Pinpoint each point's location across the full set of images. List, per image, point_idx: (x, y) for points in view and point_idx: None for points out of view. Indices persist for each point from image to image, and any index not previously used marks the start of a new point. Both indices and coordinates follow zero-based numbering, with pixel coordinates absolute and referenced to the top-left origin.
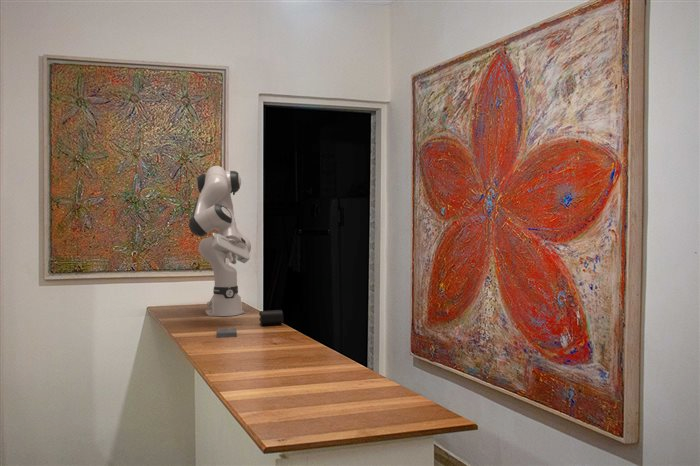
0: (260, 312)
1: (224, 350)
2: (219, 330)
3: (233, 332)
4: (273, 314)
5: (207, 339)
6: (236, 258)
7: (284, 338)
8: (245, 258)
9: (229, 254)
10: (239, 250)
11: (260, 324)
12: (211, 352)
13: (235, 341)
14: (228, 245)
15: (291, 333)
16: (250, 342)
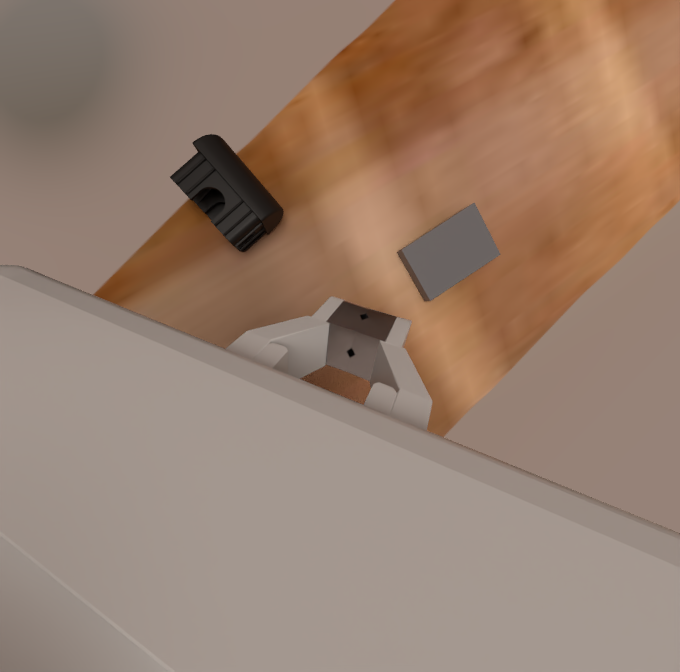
0: (268, 217)
1: (633, 137)
2: (457, 274)
3: (475, 212)
4: (245, 168)
5: (519, 267)
6: (295, 324)
7: (452, 42)
8: (72, 288)
9: (421, 398)
10: (18, 406)
11: (254, 242)
12: (658, 157)
13: (527, 172)
14: (469, 638)
15: (368, 55)
16: (530, 121)
